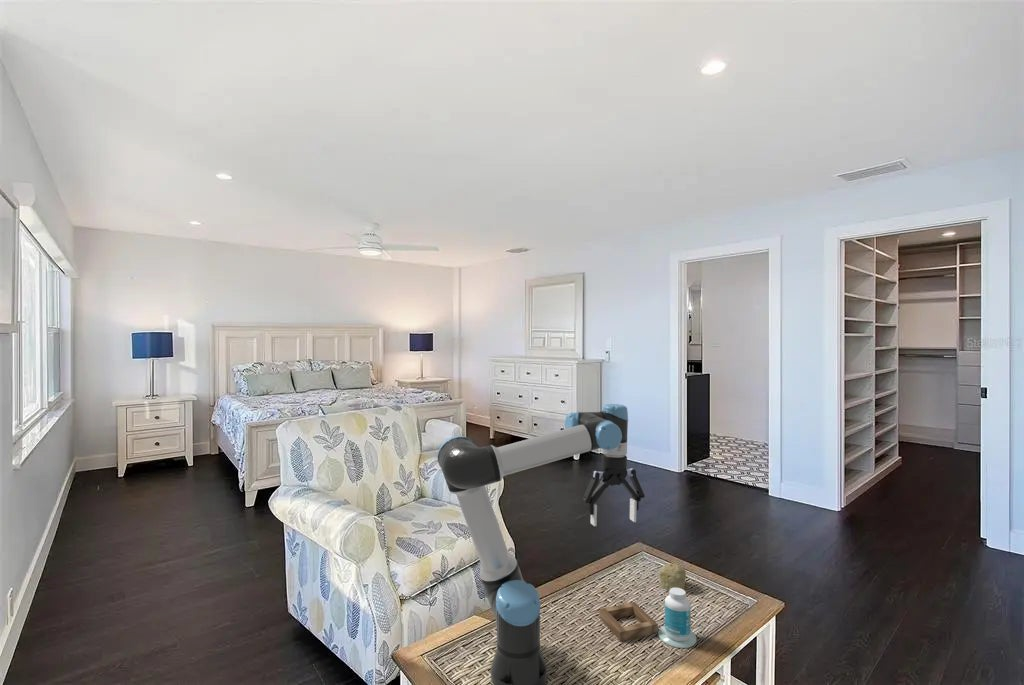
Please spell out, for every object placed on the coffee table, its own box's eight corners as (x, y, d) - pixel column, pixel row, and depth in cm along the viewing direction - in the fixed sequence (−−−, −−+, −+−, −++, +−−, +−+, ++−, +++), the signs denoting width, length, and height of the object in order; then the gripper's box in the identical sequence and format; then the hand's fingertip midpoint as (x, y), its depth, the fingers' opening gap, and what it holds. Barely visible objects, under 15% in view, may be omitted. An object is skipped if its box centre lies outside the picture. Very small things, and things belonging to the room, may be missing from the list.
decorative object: (657, 595, 182) (660, 581, 176) (657, 570, 190) (660, 555, 184) (684, 601, 180) (688, 586, 174) (683, 574, 188) (687, 560, 182)
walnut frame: (620, 641, 150) (620, 632, 150) (599, 617, 163) (599, 609, 163) (657, 632, 154) (657, 623, 154) (634, 610, 167) (634, 602, 167)
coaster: (672, 651, 145) (672, 650, 145) (651, 629, 156) (651, 628, 156) (704, 643, 149) (704, 642, 149) (681, 623, 159) (681, 621, 159)
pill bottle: (692, 644, 148) (692, 598, 148) (666, 641, 150) (666, 596, 149) (688, 629, 155) (688, 586, 155) (663, 626, 157) (663, 583, 156)
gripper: (582, 460, 149) (581, 531, 149) (656, 455, 156) (655, 523, 156) (572, 454, 156) (571, 521, 156) (643, 449, 163) (642, 514, 163)
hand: (613, 522), depth 156 cm, fingers open, 13 cm apart
